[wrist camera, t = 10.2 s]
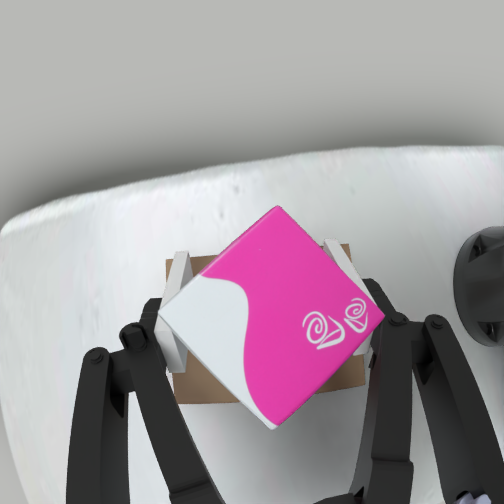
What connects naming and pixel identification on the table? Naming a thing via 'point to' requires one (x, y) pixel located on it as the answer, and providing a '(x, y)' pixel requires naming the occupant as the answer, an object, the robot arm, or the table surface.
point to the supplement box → (272, 317)
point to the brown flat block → (212, 391)
